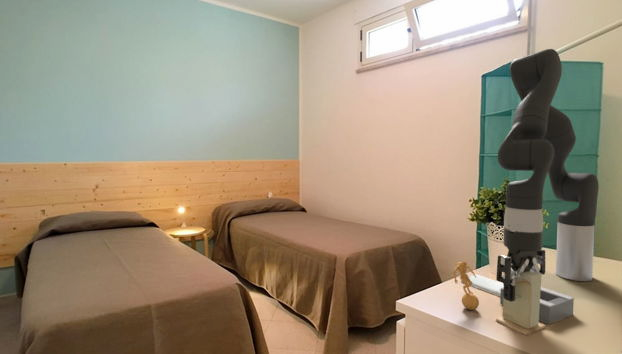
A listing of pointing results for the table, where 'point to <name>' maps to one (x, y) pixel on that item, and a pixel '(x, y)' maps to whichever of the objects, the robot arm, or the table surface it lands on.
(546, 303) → the socket block
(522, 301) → the skincare box
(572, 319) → the table surface
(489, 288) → the hard drive
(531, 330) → the cork coaster
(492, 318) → the table surface
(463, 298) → the figurine
